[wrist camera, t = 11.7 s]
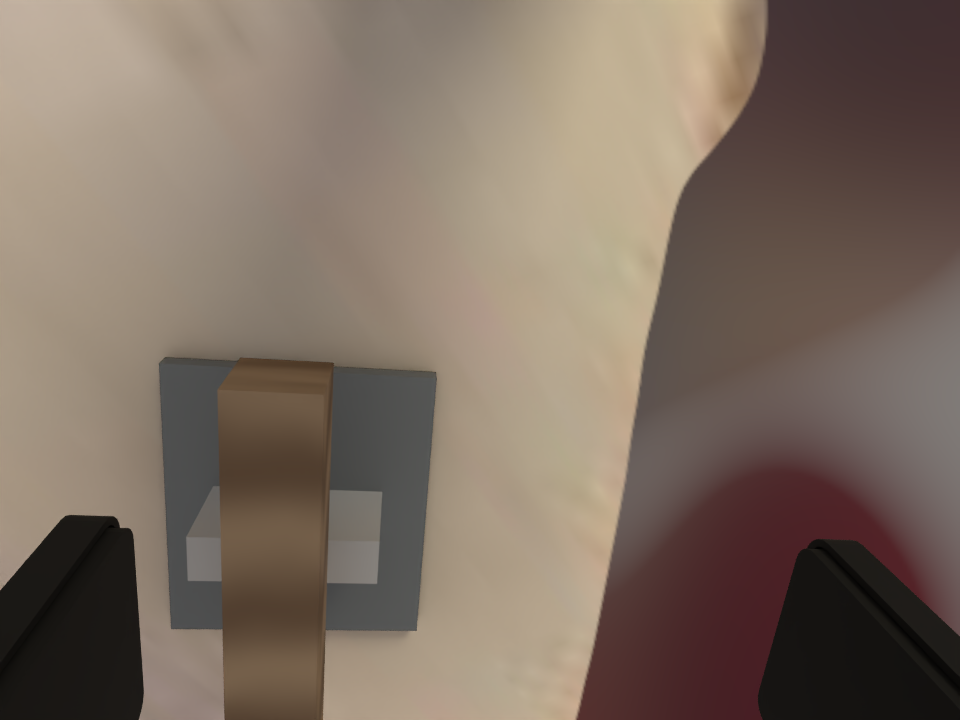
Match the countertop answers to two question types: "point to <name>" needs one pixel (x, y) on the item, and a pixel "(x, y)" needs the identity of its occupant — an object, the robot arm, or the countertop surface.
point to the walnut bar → (274, 536)
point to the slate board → (356, 461)
